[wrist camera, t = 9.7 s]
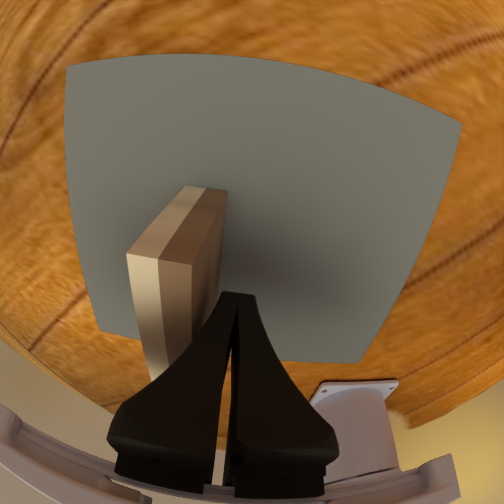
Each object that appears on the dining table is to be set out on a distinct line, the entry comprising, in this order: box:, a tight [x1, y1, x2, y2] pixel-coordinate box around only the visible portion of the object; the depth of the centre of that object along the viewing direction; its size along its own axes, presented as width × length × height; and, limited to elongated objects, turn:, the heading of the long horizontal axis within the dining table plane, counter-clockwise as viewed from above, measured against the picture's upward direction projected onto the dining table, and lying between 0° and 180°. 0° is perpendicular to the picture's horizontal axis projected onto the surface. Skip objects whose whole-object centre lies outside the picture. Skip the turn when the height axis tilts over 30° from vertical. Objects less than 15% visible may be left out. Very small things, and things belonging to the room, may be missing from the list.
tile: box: [126, 186, 228, 382], centre depth 12 cm, size 8×2×6 cm, turn 172°
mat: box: [64, 54, 462, 363], centre depth 14 cm, size 18×20×1 cm
